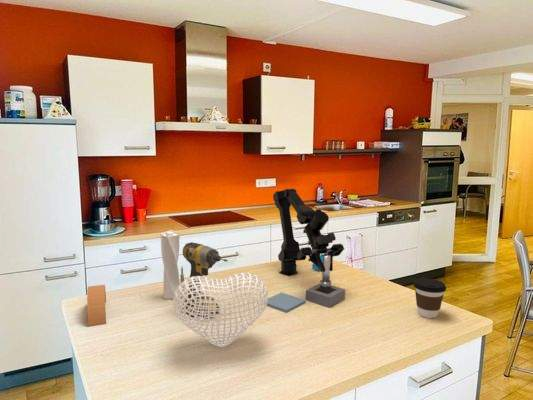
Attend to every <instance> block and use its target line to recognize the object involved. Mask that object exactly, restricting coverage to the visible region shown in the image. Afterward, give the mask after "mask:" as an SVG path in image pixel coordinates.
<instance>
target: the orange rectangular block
mask: <svg viewBox="0 0 533 400" xmlns="http://www.w3.org/2000/svg"><path fill="white" fill-rule="evenodd" d="M86 296H87V297H86V299H87V300H86V303H87V304H86V305H87V307H86V310H87V311H86V312H87V327H88V328H89V327H96V326H102V325H107V316H106V315H107V314H106V311H107V310H106V309H107V308H106V304H107V293H106V285H105V284H100V285H90V286H87V293H86Z"/></svg>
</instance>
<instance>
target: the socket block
mask: <svg viewBox="0 0 533 400" xmlns="http://www.w3.org/2000/svg"><path fill="white" fill-rule="evenodd" d="M345 296H346V288H342V287H339V286H336V285H335V286H334V285H332V284H331V288H322V287H320V283H318V284H316V285H314V286H312V287H310V288H308V289H306V290H305V300H306V302H307V301H308V302H311V303H314V304H317V305H320V306H324V307H326V308H328V309H330V308H332V307H333V306H335V305H337V304H339V303H340V302H343V301H344V300H345V299H346V297H345Z"/></svg>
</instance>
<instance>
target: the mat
mask: <svg viewBox="0 0 533 400" xmlns="http://www.w3.org/2000/svg"><path fill="white" fill-rule="evenodd" d="M306 302H307V300H306V299H303V298H300V297H297V296H293V295H291V294H287V293H285V292H279V293H277V294H275V295H273V296H271V297H268V302H267V305H266V307H269V308H271V309H275V310H278V311H281V312H283V313H286V314H288V313H289V312H292V310H295V309H296V308H299V307H300V306H301V307H302V305H304V304H306ZM264 303H265V302H264Z"/></svg>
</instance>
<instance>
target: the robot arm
mask: <svg viewBox="0 0 533 400" xmlns="http://www.w3.org/2000/svg"><path fill="white" fill-rule="evenodd" d="M272 198H273V201H274V205H275V207H276V208H277V209H278V211H279V217H280V224H281V231H282V239H283V241H282V243H281V245H280V251H279V253H278V256H277V258H278V260H279V261H280V262H281V265H280V266H281V267H280V269H281V270H280V271H278V273H279V274H282V275H285V276H287V277H288V276H290V277H291V276H293V275H295V274H297V273H298V271H297V266H298V265H297V261H306V259H307V256H308V258H309V259H308V262H311V263H312V264H313V263H314V264H315V265H316V266H317V267H318V268H319V270H320V271H321V273H322V272H325V269H324V266H323V263H322V261H321V258H320V255H321V254H323V255H324V254H328V255H331V258H330V272H332V271H333V270H334V268H333V265H334V264H333V258H334V257H338V256H340V255H341V254H342V253H343V251H344V250H345V247H344V244H342V243H334V244H333V245H331V247H329V246H330V244H332V243H333V242H334V241H336V235H335V232H329V233H327V234H322V232H321V231H322V230H323V229H324V227H325V226H326V225H327V224H328V222H329V220H330V219H329V215H328V214H327V213H326V212H324V211H322V209H321V208H319V209H316V210H314V209H313V208H312V207H310V206H309V205H307V204H306V203H304V200H302V198H301V197H300V195H299V194H298V192H297V189H295V188H285V189H283V190H277V191H275V192H274V193H273V195H272ZM291 207H293V209H294V211H295V212H296V219H297V222H299V223H298V224H300V225H305V226H304V228H303V230H302V231H303V234H306V236H307V240H308V241H307V245H309V246H307V247H301V248H300V243H299V241H297V240H296V239H295V237H294V230H293V224H292V217H291V210H290V209H291Z"/></svg>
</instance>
